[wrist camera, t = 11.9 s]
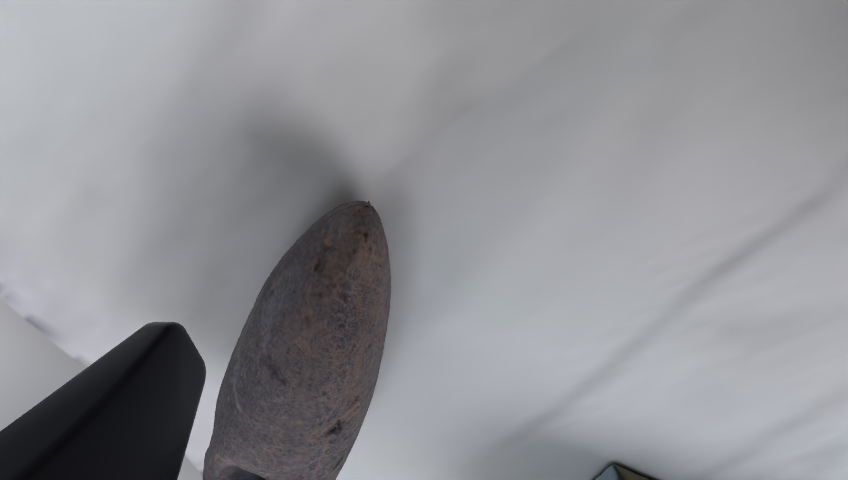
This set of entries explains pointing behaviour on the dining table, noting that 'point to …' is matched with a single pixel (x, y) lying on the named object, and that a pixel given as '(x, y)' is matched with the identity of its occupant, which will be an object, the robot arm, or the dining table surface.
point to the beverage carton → (619, 474)
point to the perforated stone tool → (306, 356)
